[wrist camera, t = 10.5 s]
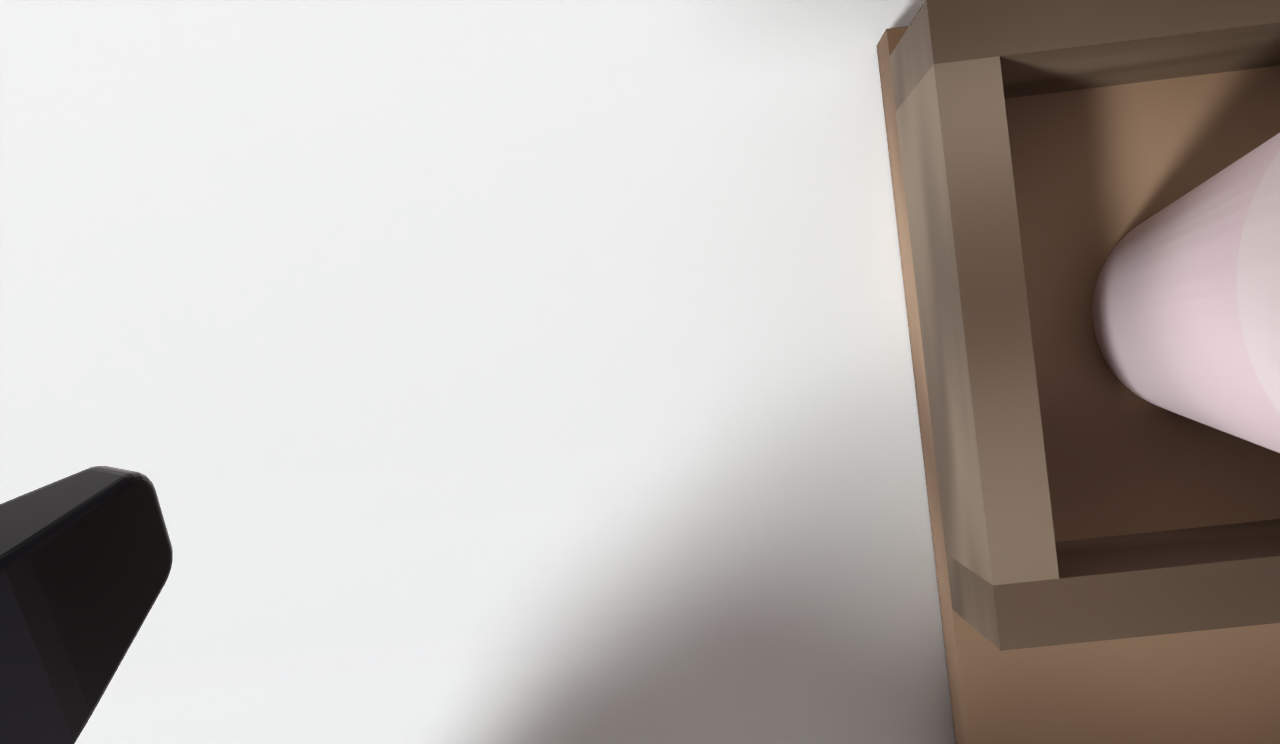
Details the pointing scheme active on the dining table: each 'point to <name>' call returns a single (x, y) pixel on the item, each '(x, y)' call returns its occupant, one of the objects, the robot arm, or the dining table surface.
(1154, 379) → the smoothie
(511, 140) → the dining table surface
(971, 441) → the holder
